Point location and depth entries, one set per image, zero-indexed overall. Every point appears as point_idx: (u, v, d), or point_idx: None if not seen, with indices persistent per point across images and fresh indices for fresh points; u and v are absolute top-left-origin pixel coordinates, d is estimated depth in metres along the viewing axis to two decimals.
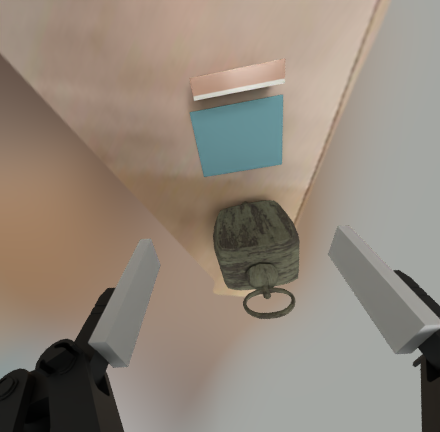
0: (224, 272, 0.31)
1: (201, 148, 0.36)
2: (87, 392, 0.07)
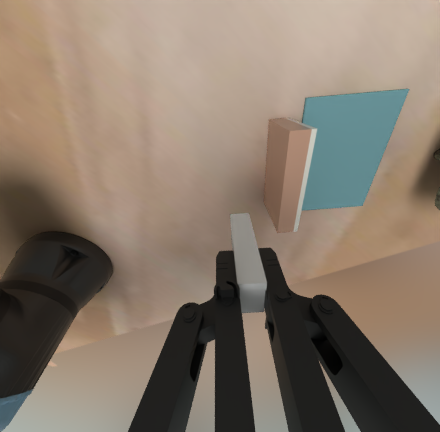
0: None
1: (328, 204, 0.31)
2: (240, 332, 0.08)
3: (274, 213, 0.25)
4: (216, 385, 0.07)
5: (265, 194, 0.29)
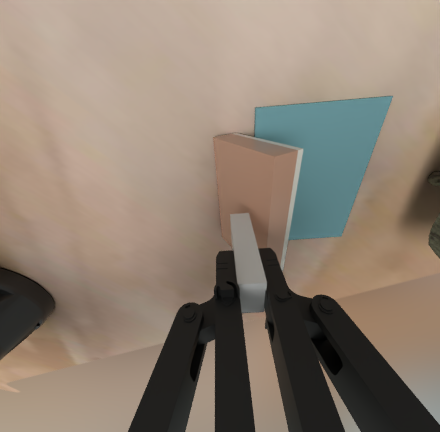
0: None
1: (299, 235, 0.25)
2: (240, 332, 0.08)
3: None
4: (216, 385, 0.07)
5: (224, 229, 0.23)
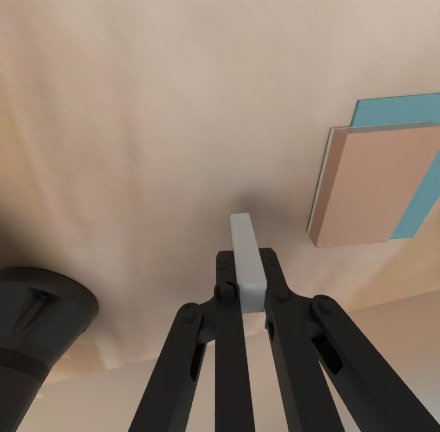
0: None
1: None
2: (240, 332, 0.08)
3: (375, 231, 0.20)
4: (216, 385, 0.07)
5: (327, 234, 0.20)
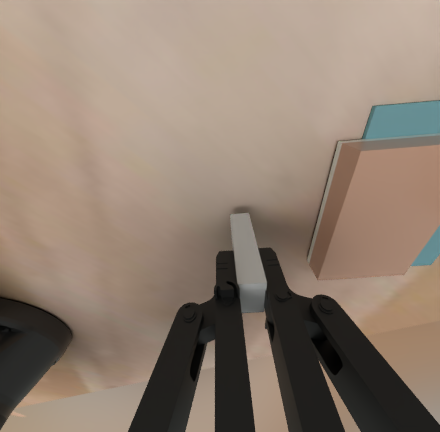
0: None
1: None
2: (240, 332, 0.08)
3: (390, 263, 0.17)
4: (216, 385, 0.07)
5: (331, 267, 0.17)
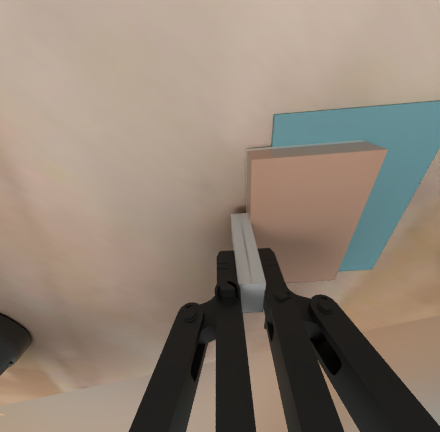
0: None
1: None
2: (241, 332, 0.08)
3: (317, 269, 0.17)
4: (217, 385, 0.07)
5: None
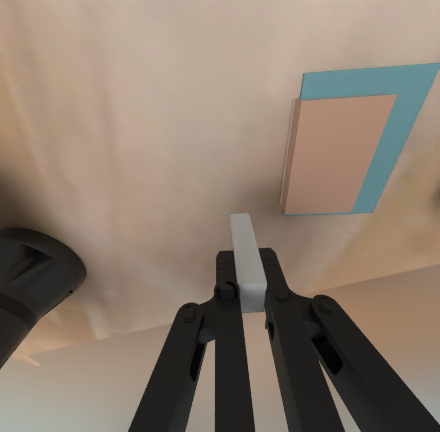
0: None
1: None
2: (240, 332, 0.08)
3: (339, 200, 0.22)
4: (216, 385, 0.07)
5: (293, 201, 0.22)
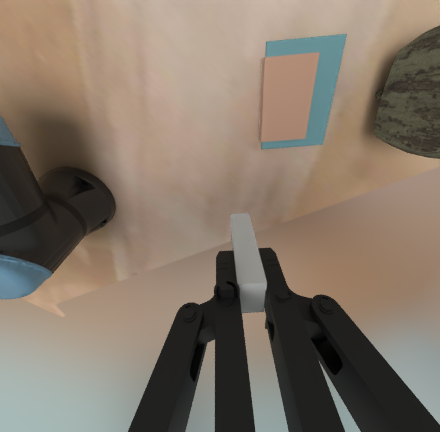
0: None
1: (293, 143, 0.37)
2: (240, 332, 0.08)
3: (295, 129, 0.33)
4: (216, 385, 0.07)
5: (266, 131, 0.34)
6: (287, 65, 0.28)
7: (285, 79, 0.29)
